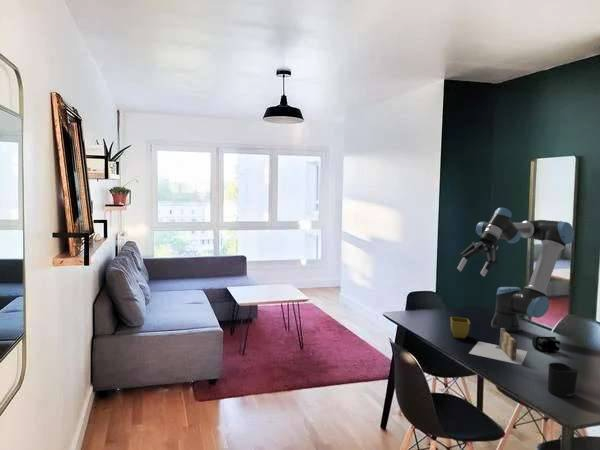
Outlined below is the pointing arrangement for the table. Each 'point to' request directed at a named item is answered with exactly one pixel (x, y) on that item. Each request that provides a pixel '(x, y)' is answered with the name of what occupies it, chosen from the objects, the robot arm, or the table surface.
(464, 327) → the flower pot
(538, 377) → the table surface
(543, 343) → the end cap
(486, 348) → the base
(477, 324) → the table surface
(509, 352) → the gate
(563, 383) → the pen holder
